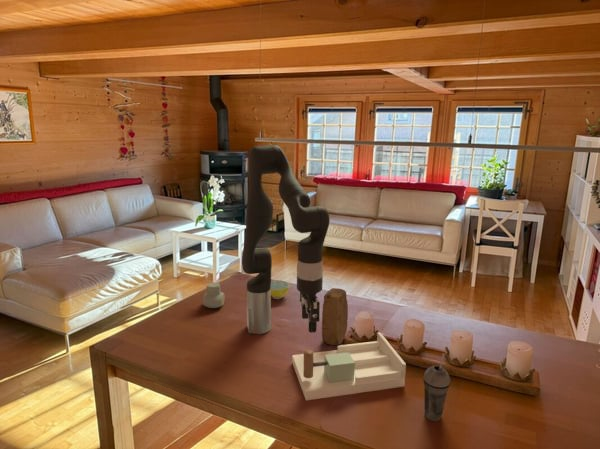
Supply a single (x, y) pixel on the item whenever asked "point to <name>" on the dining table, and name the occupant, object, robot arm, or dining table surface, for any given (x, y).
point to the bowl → (279, 289)
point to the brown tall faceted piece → (334, 316)
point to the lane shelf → (368, 370)
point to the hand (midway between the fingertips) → (308, 324)
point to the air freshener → (213, 296)
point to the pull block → (331, 366)
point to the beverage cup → (435, 391)
